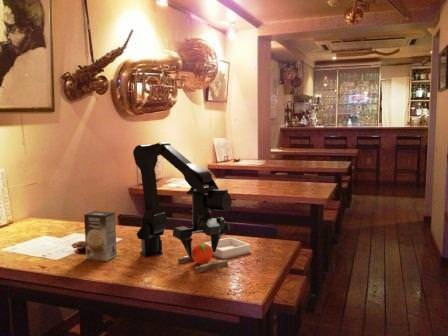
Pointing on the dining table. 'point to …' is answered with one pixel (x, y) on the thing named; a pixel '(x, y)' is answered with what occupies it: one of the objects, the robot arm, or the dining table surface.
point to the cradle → (204, 266)
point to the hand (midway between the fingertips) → (202, 254)
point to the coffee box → (100, 235)
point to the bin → (230, 248)
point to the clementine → (202, 253)
